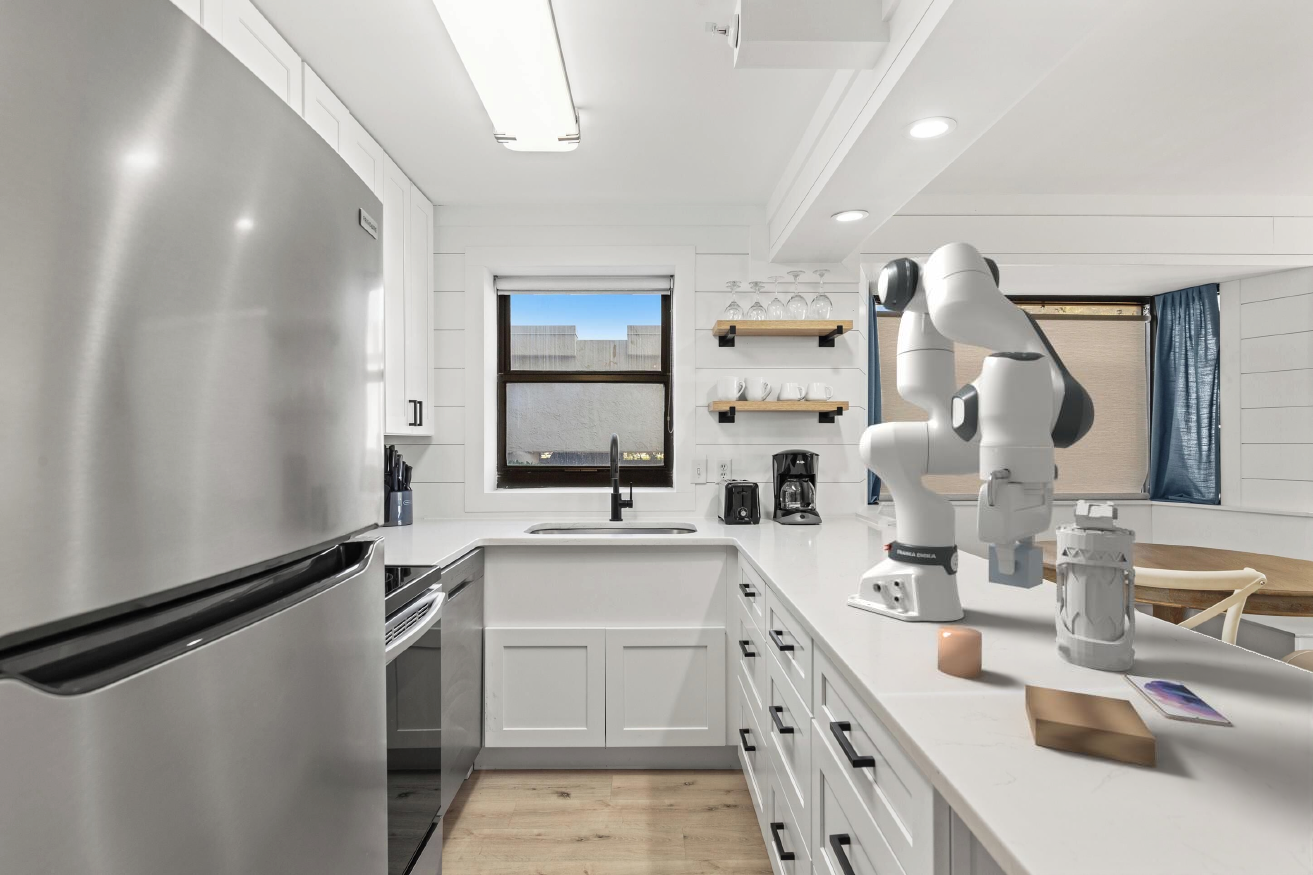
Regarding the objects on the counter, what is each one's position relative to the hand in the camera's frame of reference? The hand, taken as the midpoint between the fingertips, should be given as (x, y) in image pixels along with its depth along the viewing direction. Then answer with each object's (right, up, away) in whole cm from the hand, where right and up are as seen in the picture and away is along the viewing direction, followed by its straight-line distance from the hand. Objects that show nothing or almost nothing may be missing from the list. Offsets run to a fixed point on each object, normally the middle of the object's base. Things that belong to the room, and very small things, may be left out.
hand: (1015, 570), depth 85 cm
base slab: (+2, -17, -11) cm, 21 cm away
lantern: (+22, -18, +16) cm, 32 cm away
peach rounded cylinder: (-3, -17, +10) cm, 20 cm away
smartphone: (+21, -18, -1) cm, 28 cm away
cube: (0, -2, 0) cm, 2 cm away
